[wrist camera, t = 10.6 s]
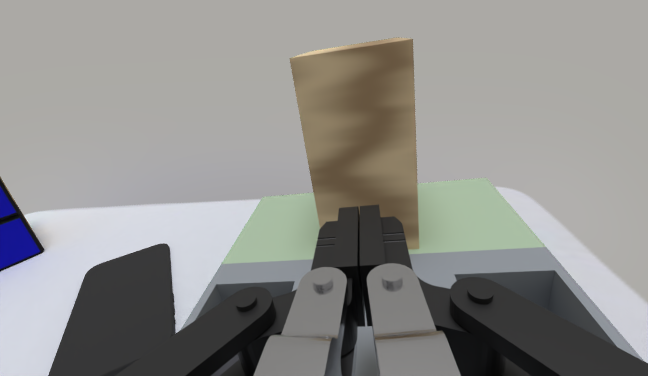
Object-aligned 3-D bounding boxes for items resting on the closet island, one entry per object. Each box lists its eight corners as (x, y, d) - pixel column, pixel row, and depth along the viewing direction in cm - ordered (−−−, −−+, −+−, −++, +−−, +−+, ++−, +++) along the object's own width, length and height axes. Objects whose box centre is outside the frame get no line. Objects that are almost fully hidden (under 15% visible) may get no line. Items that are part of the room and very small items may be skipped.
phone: (168, 240, 33) (174, 343, 21) (171, 247, 34) (178, 352, 21) (86, 267, 31) (36, 405, 18) (90, 274, 31) (43, 414, 18)
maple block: (324, 254, 21) (289, 58, 16) (334, 198, 28) (312, 50, 23) (419, 249, 20) (412, 38, 15) (404, 192, 27) (397, 37, 22)
